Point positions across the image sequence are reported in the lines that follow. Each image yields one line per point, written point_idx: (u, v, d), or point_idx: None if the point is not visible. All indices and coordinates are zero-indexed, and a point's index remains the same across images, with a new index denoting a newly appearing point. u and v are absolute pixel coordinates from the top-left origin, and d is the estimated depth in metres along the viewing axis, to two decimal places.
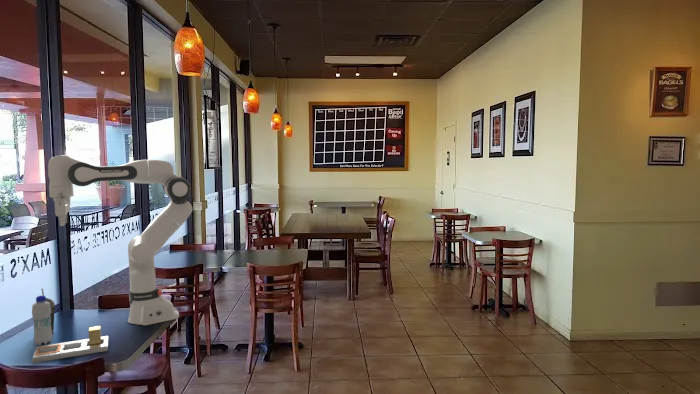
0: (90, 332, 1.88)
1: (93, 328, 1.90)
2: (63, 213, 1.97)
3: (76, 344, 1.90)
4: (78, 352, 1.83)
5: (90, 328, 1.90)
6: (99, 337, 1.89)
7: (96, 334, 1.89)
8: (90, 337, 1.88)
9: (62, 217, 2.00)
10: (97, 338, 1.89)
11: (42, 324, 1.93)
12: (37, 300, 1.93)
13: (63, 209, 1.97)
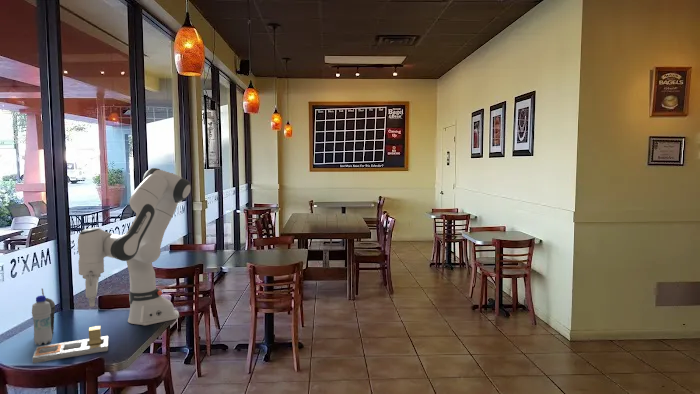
0: (90, 332, 1.88)
1: (93, 328, 1.90)
2: (94, 294, 1.80)
3: (76, 344, 1.90)
4: (78, 352, 1.83)
5: (90, 328, 1.90)
6: (99, 337, 1.89)
7: (96, 334, 1.89)
8: (90, 337, 1.88)
9: (92, 297, 1.83)
10: (97, 338, 1.89)
11: (42, 324, 1.93)
12: (37, 300, 1.93)
13: (94, 290, 1.80)
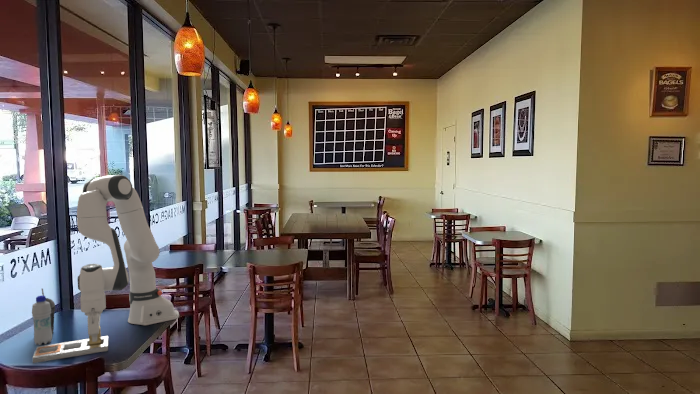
0: None
1: None
2: (96, 332, 1.82)
3: (76, 344, 1.90)
4: (78, 352, 1.83)
5: None
6: (99, 337, 1.89)
7: None
8: (90, 337, 1.88)
9: None
10: (97, 338, 1.89)
11: (42, 325, 1.93)
12: (37, 300, 1.93)
13: (96, 328, 1.82)
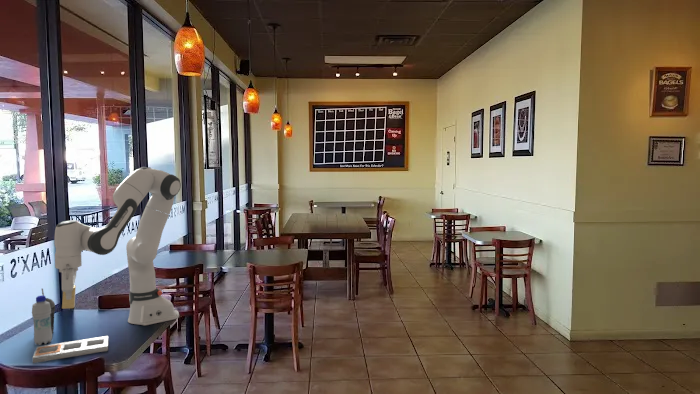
0: None
1: None
2: (71, 288, 1.76)
3: (76, 344, 1.90)
4: (78, 352, 1.83)
5: None
6: (73, 296, 1.84)
7: None
8: (64, 295, 1.82)
9: (69, 290, 1.81)
10: None
11: (42, 324, 1.93)
12: (37, 300, 1.93)
13: (71, 284, 1.76)
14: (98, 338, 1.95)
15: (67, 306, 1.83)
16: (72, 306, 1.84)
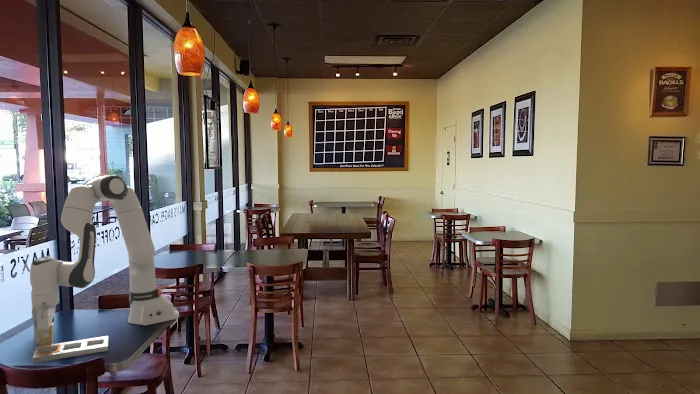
0: None
1: None
2: (46, 327, 1.74)
3: (76, 344, 1.90)
4: (78, 352, 1.83)
5: None
6: (51, 334, 1.82)
7: None
8: (41, 333, 1.81)
9: None
10: (49, 334, 1.82)
11: None
12: None
13: (46, 323, 1.74)
14: (98, 338, 1.95)
15: (45, 344, 1.81)
16: (50, 343, 1.82)
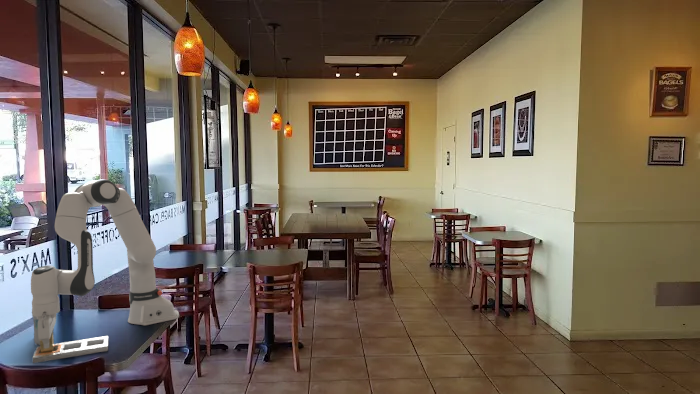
0: None
1: None
2: (47, 337, 1.75)
3: (76, 344, 1.90)
4: (78, 352, 1.83)
5: None
6: (51, 344, 1.82)
7: None
8: (41, 345, 1.81)
9: None
10: None
11: None
12: None
13: (47, 332, 1.75)
14: (98, 338, 1.95)
15: None
16: None
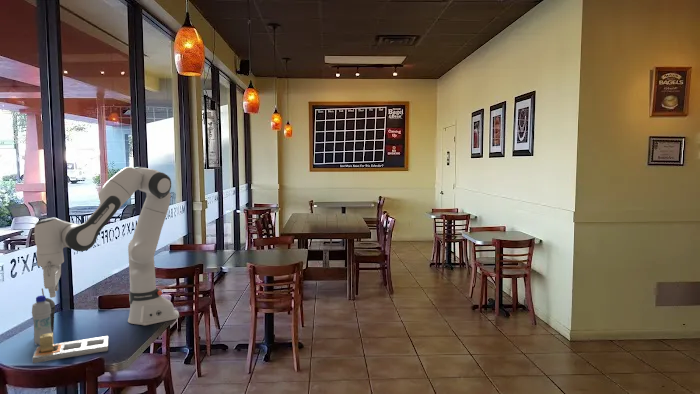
0: (41, 339, 1.81)
1: (45, 335, 1.83)
2: (53, 285, 1.78)
3: (76, 344, 1.90)
4: (78, 352, 1.83)
5: (42, 335, 1.83)
6: (51, 344, 1.82)
7: (48, 341, 1.82)
8: (41, 345, 1.81)
9: (52, 288, 1.81)
10: (49, 345, 1.82)
11: (42, 325, 1.93)
12: (37, 300, 1.93)
13: (53, 280, 1.78)
14: (98, 338, 1.95)
15: None
16: None
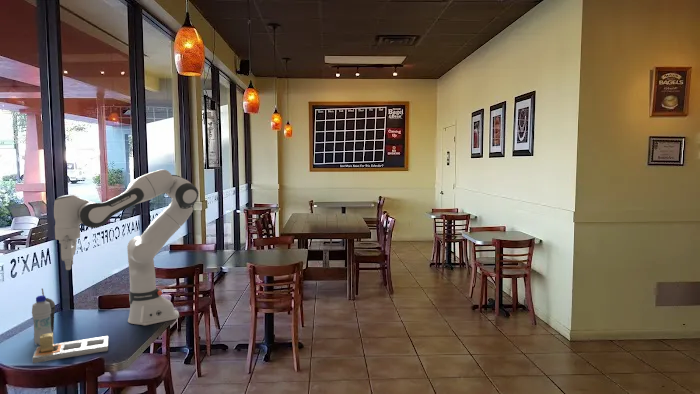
0: (41, 339, 1.81)
1: (45, 335, 1.83)
2: (69, 257, 1.87)
3: (76, 344, 1.90)
4: (78, 352, 1.83)
5: (42, 335, 1.83)
6: (51, 344, 1.82)
7: (48, 341, 1.82)
8: (41, 345, 1.81)
9: (68, 261, 1.90)
10: (49, 345, 1.82)
11: (42, 324, 1.93)
12: (37, 300, 1.93)
13: (69, 253, 1.87)
14: (98, 338, 1.95)
15: None
16: None
